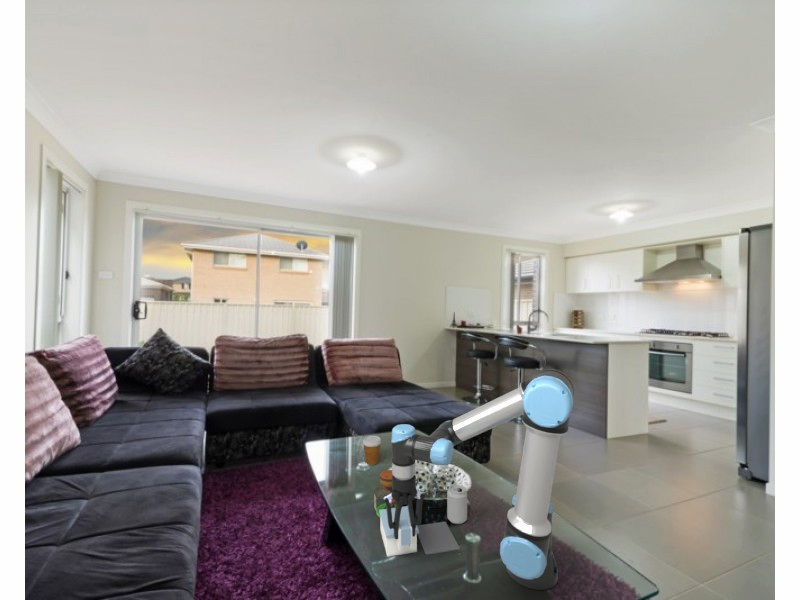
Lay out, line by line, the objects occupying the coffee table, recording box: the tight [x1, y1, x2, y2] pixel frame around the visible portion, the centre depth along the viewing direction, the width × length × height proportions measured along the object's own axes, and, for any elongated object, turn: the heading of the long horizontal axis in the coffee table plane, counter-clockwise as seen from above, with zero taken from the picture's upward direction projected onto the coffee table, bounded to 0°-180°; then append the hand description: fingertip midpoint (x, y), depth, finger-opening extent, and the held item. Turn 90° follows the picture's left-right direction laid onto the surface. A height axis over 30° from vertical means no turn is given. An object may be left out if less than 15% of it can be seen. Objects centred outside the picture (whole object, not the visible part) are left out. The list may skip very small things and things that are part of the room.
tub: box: [379, 517, 418, 558], centre depth 132 cm, size 14×10×6 cm
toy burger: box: [373, 469, 396, 518], centre depth 149 cm, size 12×13×15 cm
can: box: [446, 484, 468, 525], centre depth 144 cm, size 8×8×12 cm
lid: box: [379, 505, 419, 545], centre depth 129 cm, size 20×11×5 cm, turn 12°
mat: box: [417, 521, 461, 556], centre depth 133 cm, size 15×12×1 cm
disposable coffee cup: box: [362, 435, 382, 466], centre depth 191 cm, size 10×10×12 cm
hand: (404, 546), depth 122 cm, fingers closed on lid, 3 cm apart
